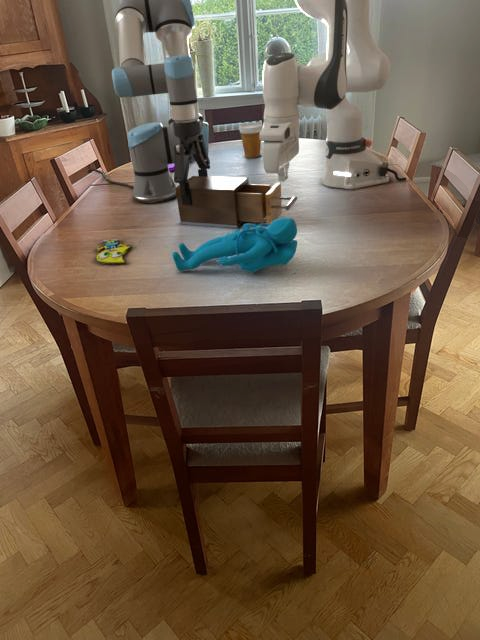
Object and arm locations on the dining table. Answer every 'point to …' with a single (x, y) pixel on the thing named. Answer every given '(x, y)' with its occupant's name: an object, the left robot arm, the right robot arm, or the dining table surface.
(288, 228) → the toy
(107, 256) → the toy
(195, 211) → the cabinet
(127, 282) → the dining table surface
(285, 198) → the drawer
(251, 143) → the glass of beer
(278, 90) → the right robot arm
